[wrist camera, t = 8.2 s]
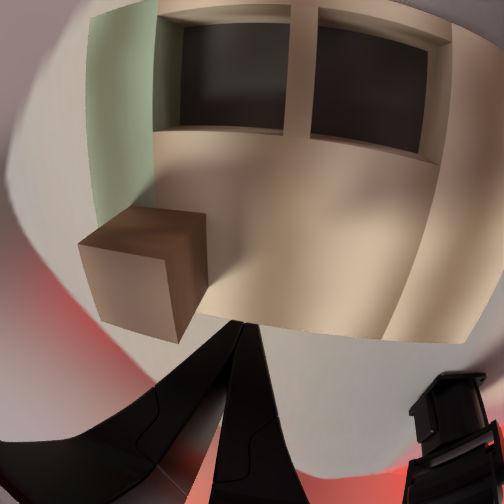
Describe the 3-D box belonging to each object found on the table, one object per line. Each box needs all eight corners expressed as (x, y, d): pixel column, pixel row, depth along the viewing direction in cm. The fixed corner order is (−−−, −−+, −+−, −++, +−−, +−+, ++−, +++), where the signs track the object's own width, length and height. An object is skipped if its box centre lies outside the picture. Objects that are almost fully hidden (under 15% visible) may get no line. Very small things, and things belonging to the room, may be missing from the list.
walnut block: (206, 213, 12) (164, 259, 9) (208, 287, 14) (178, 343, 11) (130, 206, 13) (77, 244, 9) (140, 274, 15) (101, 320, 11)
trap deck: (512, 76, 7) (543, 77, 5) (449, 313, 15) (463, 343, 13) (123, 26, 11) (90, 18, 8) (136, 267, 19) (113, 292, 16)
